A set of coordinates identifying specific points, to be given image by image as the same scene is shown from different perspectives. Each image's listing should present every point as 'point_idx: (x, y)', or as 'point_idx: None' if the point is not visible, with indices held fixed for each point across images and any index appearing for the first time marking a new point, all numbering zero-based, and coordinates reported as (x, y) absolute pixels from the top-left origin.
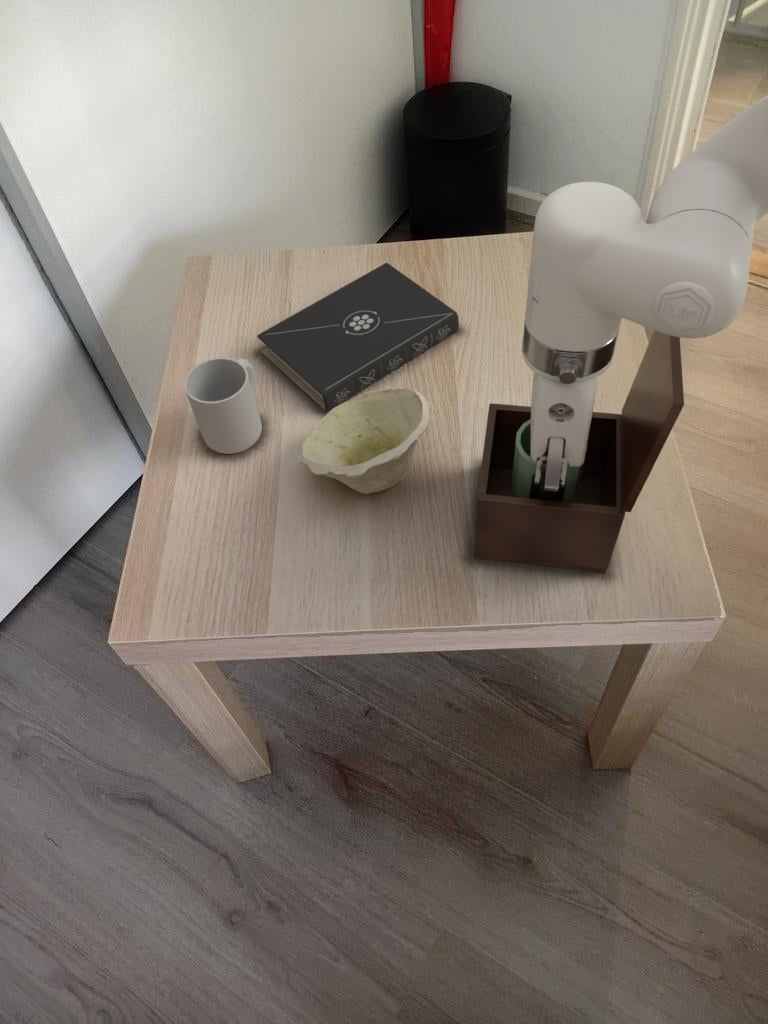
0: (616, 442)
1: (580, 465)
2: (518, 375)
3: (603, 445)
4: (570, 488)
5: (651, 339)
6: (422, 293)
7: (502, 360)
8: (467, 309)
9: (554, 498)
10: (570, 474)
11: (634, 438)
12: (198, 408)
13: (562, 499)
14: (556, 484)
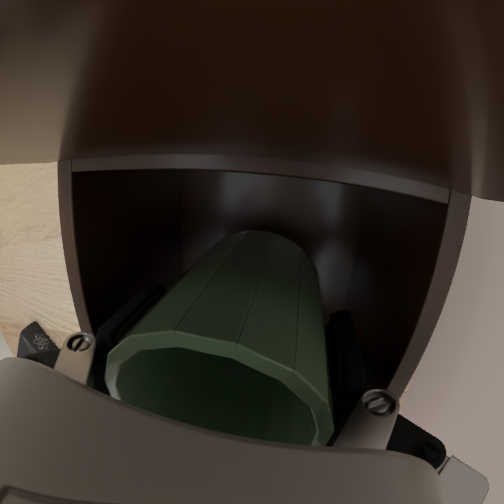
0: (147, 169)
1: (434, 470)
2: (52, 269)
3: (136, 178)
4: (312, 301)
5: None
6: (20, 353)
7: (43, 284)
8: (17, 306)
9: (369, 363)
10: (321, 356)
11: (240, 96)
12: None
13: (353, 327)
14: (479, 499)
